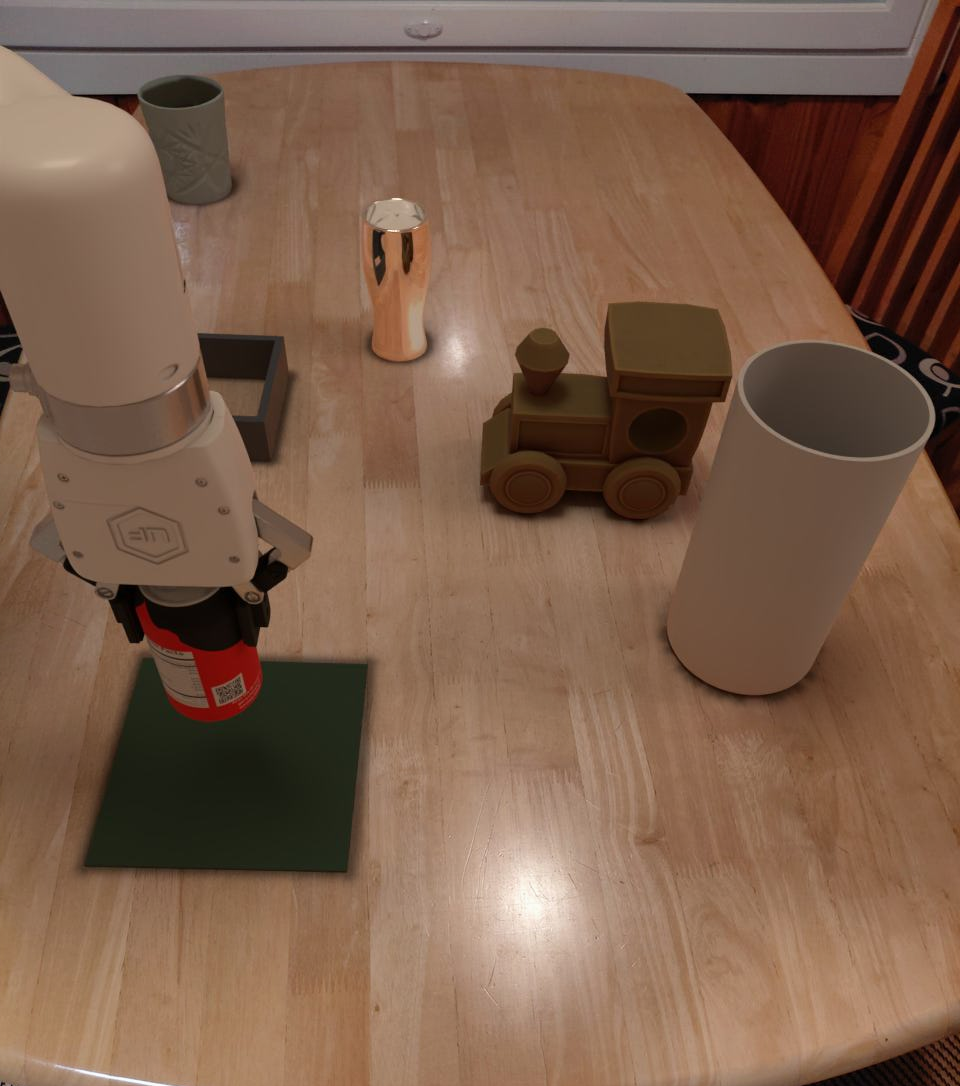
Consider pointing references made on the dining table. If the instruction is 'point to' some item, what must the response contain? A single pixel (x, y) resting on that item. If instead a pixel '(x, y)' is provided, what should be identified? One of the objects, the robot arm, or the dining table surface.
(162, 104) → the grey-green embossed pot
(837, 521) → the cylinder vase
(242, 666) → the beverage can
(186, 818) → the mat
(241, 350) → the box
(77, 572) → the robot arm
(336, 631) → the dining table surface
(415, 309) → the beer glass
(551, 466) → the wooden toy train
